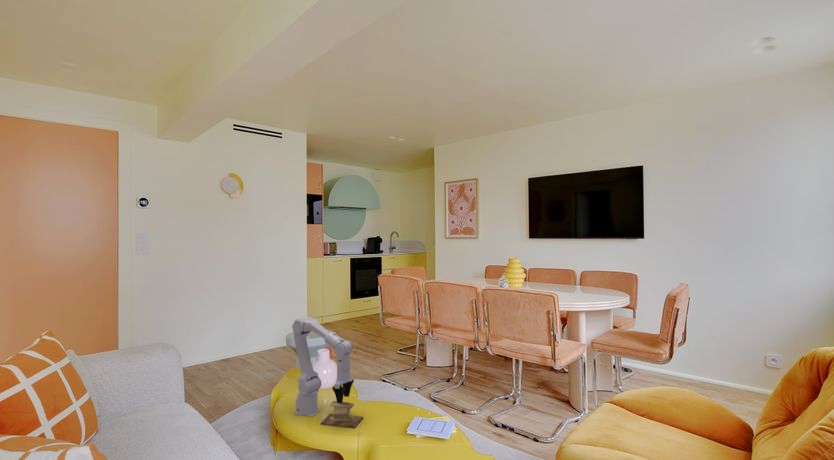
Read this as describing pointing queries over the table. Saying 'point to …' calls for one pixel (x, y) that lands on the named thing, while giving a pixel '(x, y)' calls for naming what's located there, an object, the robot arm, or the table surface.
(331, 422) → the walnut board
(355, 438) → the table surface
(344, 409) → the oak stool
